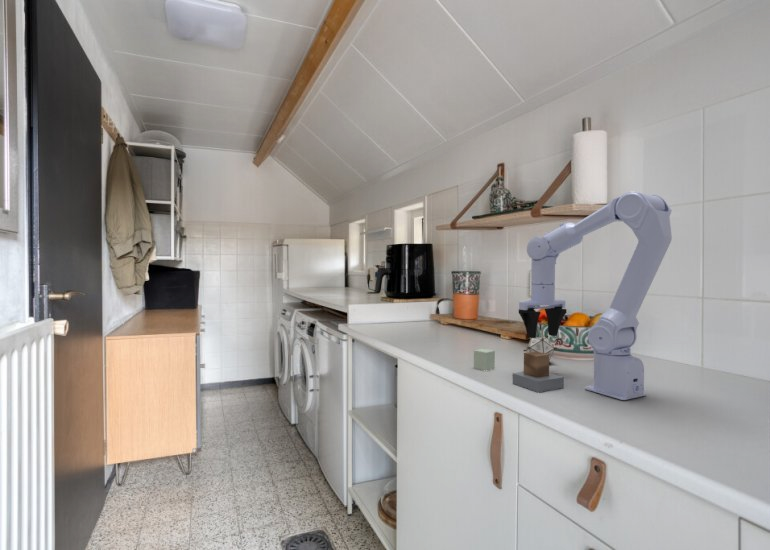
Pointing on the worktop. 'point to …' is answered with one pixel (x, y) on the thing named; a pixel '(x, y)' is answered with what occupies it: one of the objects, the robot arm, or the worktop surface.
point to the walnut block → (536, 364)
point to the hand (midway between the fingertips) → (542, 336)
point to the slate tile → (538, 382)
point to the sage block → (484, 359)
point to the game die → (540, 346)
